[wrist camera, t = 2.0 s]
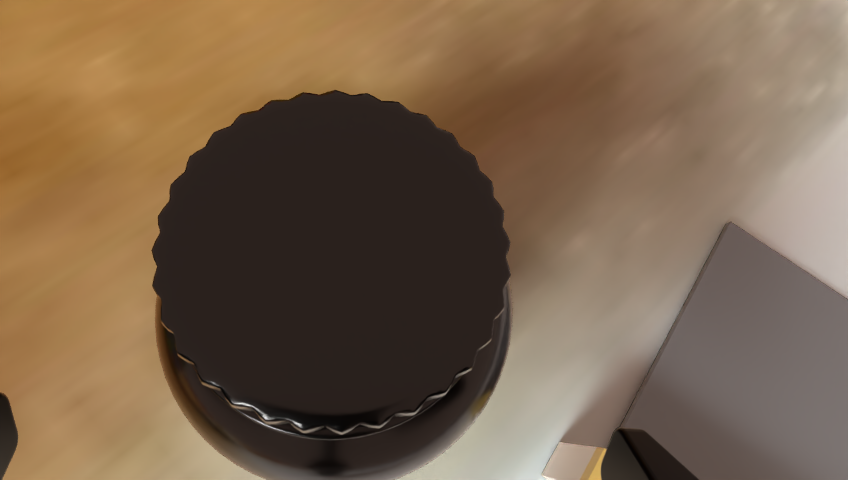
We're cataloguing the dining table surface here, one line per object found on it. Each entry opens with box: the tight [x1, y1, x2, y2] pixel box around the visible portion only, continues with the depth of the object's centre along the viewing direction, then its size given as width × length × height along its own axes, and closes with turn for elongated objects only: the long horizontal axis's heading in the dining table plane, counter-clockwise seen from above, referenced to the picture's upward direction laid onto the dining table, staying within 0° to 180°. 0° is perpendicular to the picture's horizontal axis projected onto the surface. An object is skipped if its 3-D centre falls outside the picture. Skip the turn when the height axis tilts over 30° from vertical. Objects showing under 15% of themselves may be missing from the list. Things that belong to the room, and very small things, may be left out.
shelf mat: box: [620, 222, 848, 480], centre depth 20 cm, size 10×12×1 cm
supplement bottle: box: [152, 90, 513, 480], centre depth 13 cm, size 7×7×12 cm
